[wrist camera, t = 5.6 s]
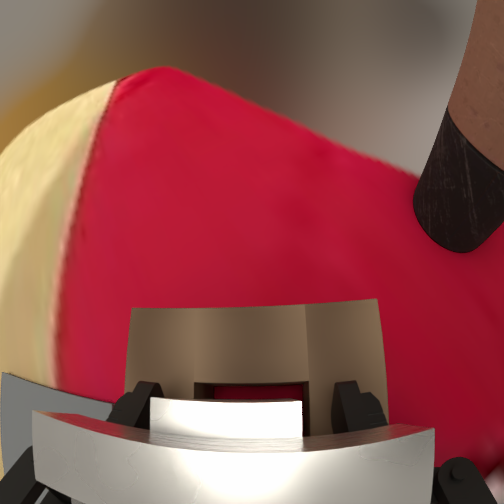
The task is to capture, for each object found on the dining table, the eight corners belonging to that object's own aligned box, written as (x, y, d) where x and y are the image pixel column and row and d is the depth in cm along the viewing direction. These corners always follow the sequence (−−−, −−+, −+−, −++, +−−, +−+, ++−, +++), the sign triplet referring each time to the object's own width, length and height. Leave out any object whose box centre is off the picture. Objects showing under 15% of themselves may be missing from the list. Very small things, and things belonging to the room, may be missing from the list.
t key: (329, 394, 14) (432, 383, 4) (330, 452, 13) (423, 542, 2) (188, 396, 15) (33, 374, 5) (188, 452, 14) (40, 508, 3)
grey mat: (118, 404, 15) (112, 404, 14) (128, 552, 9) (123, 556, 9) (8, 373, 16) (2, 371, 15) (14, 496, 10) (8, 496, 10)
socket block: (357, 320, 16) (377, 298, 13) (363, 507, 11) (383, 532, 7) (160, 327, 17) (132, 307, 14) (159, 505, 12) (129, 526, 8)
